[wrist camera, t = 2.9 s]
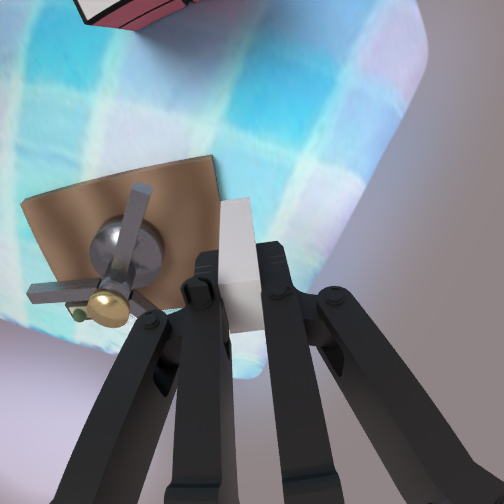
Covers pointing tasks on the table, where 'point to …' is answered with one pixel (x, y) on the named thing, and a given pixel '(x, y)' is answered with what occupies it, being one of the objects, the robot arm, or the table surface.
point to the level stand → (114, 203)
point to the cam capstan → (115, 266)
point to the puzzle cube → (126, 12)
